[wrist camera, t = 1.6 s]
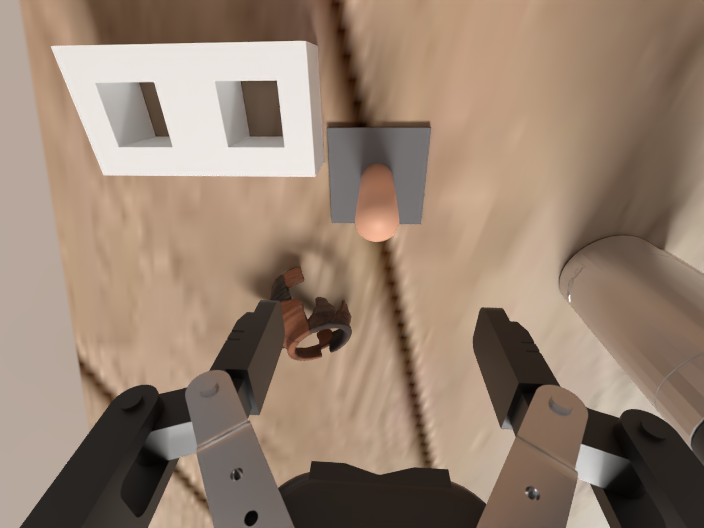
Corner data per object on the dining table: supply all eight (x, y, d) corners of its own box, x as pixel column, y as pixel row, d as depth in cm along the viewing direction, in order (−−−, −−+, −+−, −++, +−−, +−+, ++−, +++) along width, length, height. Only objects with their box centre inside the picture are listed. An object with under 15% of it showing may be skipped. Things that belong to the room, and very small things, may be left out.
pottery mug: (318, 248, 36) (342, 308, 31) (346, 287, 43) (369, 340, 38) (224, 298, 36) (233, 364, 31) (268, 328, 44) (281, 385, 39)
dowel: (394, 163, 29) (400, 200, 21) (392, 194, 31) (398, 242, 22) (361, 163, 29) (354, 200, 21) (361, 194, 31) (354, 241, 22)
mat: (430, 127, 28) (431, 127, 28) (420, 222, 32) (420, 224, 32) (327, 127, 28) (327, 128, 28) (332, 221, 33) (331, 222, 33)
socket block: (317, 46, 25) (305, 40, 21) (324, 161, 30) (315, 176, 26) (103, 50, 27) (50, 45, 22) (141, 161, 31) (103, 175, 27)
